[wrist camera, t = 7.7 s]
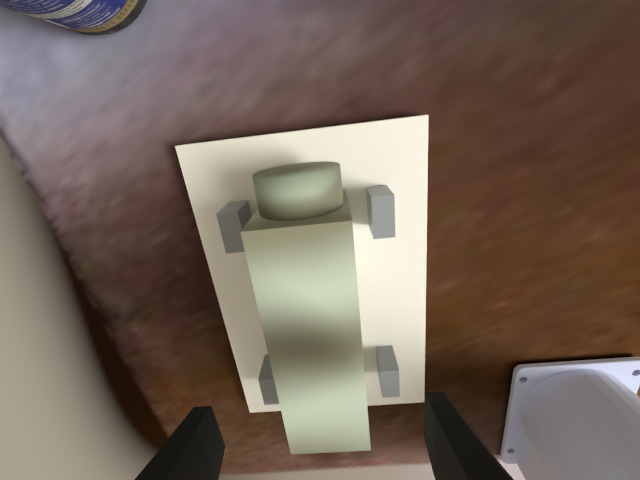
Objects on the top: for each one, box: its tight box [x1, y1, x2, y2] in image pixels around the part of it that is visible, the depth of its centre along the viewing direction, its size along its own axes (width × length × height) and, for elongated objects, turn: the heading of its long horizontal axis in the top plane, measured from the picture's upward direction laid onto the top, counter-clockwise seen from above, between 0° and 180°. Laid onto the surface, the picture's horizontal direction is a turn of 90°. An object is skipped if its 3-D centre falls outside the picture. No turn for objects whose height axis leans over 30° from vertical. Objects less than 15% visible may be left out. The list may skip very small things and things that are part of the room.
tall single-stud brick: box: [240, 161, 371, 454], centre depth 15 cm, size 14×4×5 cm, turn 7°
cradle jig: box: [175, 115, 428, 413], centre depth 17 cm, size 18×12×3 cm, turn 7°
